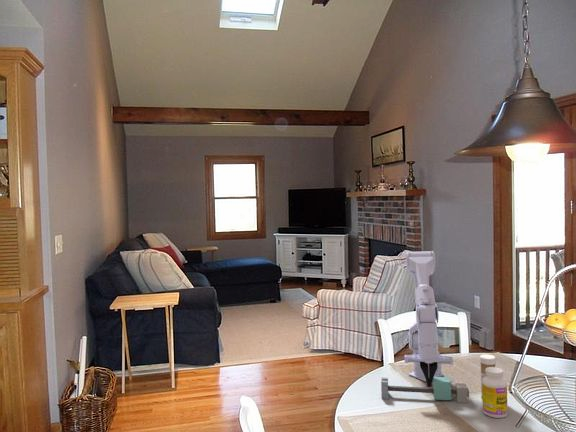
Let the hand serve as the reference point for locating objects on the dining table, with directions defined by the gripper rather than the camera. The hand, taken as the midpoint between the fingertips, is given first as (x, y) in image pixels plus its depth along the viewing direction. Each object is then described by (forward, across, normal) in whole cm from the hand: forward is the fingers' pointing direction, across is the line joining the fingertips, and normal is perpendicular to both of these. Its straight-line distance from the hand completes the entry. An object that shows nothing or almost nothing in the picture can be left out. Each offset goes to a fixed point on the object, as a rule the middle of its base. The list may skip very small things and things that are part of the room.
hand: (429, 385), depth 148 cm
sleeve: (+4, +4, 0) cm, 6 cm away
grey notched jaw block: (+4, -14, 0) cm, 14 cm away
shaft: (+2, -2, 0) cm, 3 cm away
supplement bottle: (+4, +18, -8) cm, 20 cm away
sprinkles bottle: (+4, +18, +2) cm, 18 cm away
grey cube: (+4, +10, 0) cm, 10 cm away
